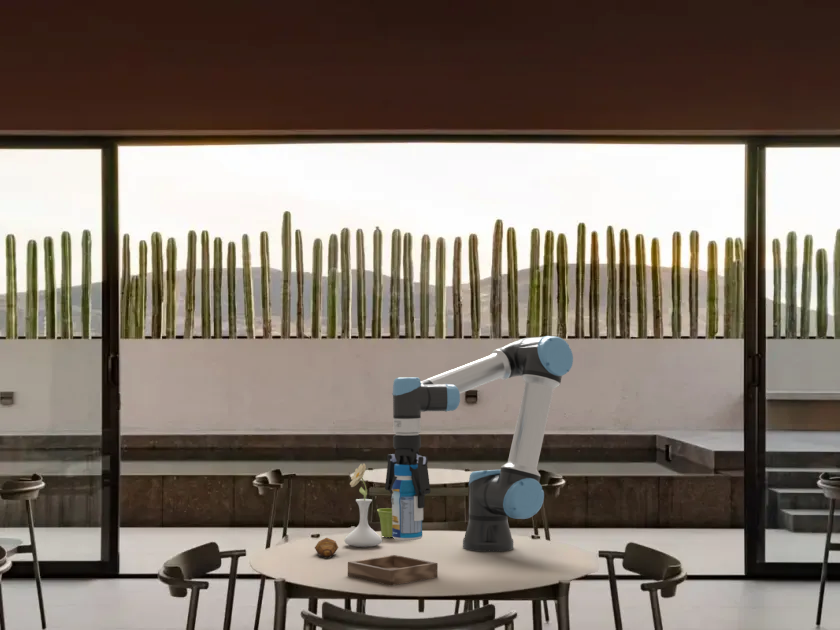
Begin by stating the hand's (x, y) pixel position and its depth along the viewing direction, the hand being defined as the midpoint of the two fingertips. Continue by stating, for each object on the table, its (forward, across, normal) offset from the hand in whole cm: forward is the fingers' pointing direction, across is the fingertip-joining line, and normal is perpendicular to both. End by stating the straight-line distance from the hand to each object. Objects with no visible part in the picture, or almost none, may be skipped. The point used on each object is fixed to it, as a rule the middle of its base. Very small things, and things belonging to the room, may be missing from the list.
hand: (407, 518), depth 261 cm
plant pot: (+13, -38, +29) cm, 50 cm away
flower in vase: (+12, -30, +10) cm, 34 cm away
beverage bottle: (+6, 0, 0) cm, 6 cm away
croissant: (+12, -26, -7) cm, 30 cm away
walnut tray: (+12, +10, -15) cm, 21 cm away
